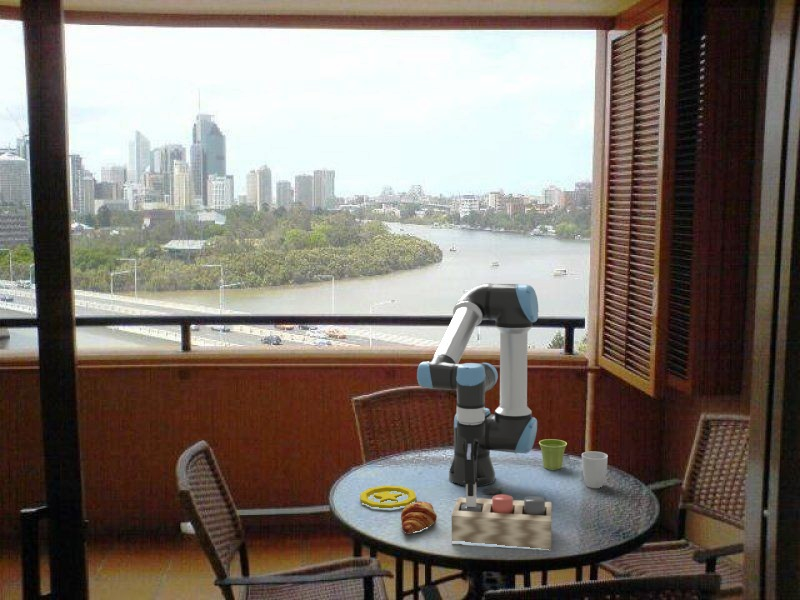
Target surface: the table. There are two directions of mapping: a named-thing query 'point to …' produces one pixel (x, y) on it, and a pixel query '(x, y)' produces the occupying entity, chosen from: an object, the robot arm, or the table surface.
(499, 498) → the middle button
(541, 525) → the control box
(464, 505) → the left button
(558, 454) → the plant pot
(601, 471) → the cup
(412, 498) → the decorative disc
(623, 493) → the table surface
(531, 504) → the right button
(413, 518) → the croissant
